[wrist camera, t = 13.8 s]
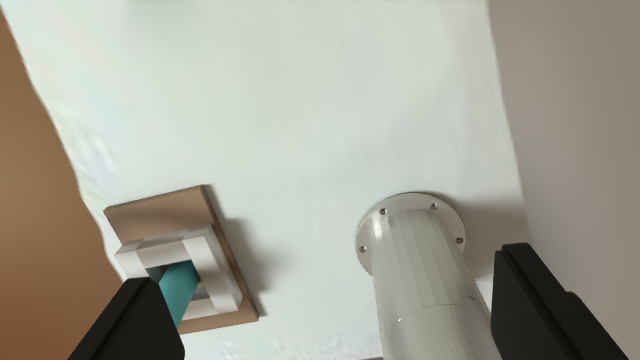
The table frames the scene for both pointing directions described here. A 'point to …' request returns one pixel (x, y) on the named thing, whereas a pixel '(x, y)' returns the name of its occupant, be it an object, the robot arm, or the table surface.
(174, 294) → the peg
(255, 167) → the table surface
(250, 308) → the socket board
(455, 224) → the robot arm
